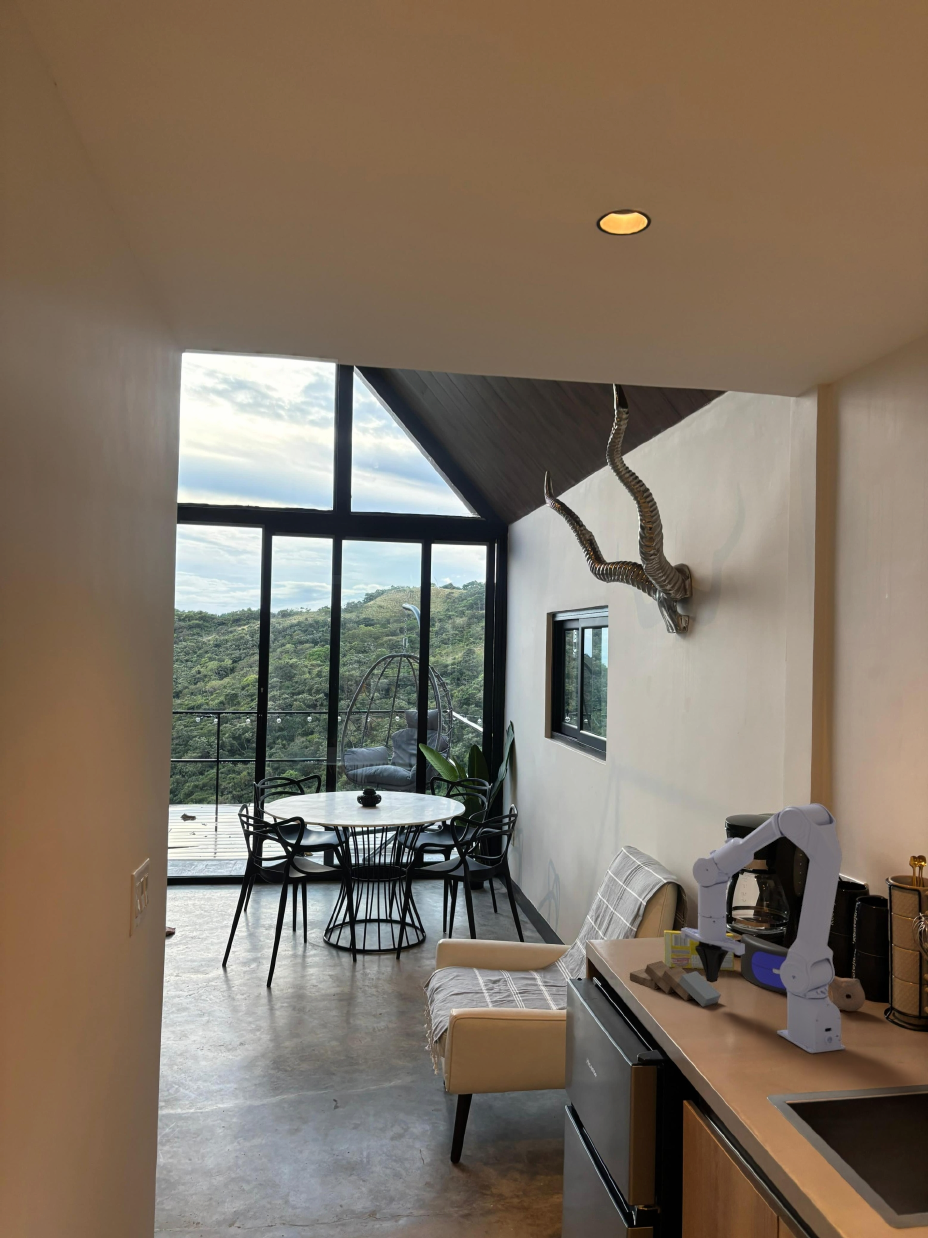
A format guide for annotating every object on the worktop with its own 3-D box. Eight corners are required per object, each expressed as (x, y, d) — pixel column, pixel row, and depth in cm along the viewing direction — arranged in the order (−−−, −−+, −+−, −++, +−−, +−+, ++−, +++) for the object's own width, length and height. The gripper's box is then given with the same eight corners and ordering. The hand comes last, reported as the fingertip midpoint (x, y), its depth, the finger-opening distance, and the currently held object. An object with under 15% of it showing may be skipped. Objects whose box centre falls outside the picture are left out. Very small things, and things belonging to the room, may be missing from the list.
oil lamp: (821, 1012, 176) (821, 972, 176) (816, 1004, 180) (816, 966, 180) (867, 1015, 174) (866, 975, 175) (861, 1008, 178) (861, 969, 179)
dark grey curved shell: (730, 975, 197) (730, 934, 198) (744, 973, 199) (744, 931, 200) (785, 999, 183) (785, 954, 183) (800, 996, 185) (800, 951, 186)
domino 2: (684, 982, 186) (661, 960, 192) (670, 986, 183) (647, 964, 189) (681, 989, 187) (658, 968, 192) (667, 994, 184) (644, 972, 189)
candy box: (732, 968, 202) (732, 933, 203) (734, 971, 200) (734, 935, 201) (663, 964, 204) (663, 929, 205) (664, 967, 202) (664, 932, 202)
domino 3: (703, 988, 183) (679, 966, 188) (689, 993, 180) (665, 970, 185) (699, 996, 183) (676, 973, 188) (685, 1000, 180) (661, 978, 185)
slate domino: (720, 994, 179) (696, 971, 184) (706, 999, 176) (682, 975, 181) (717, 1002, 180) (692, 978, 185) (702, 1007, 177) (678, 983, 182)
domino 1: (668, 977, 190) (644, 968, 195) (654, 981, 187) (629, 972, 192) (668, 986, 190) (644, 977, 195) (654, 991, 187) (629, 981, 192)
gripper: (753, 920, 176) (753, 987, 175) (695, 904, 188) (694, 968, 186) (733, 925, 172) (733, 994, 171) (675, 909, 183) (674, 974, 182)
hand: (711, 981), depth 178 cm, fingers closed
